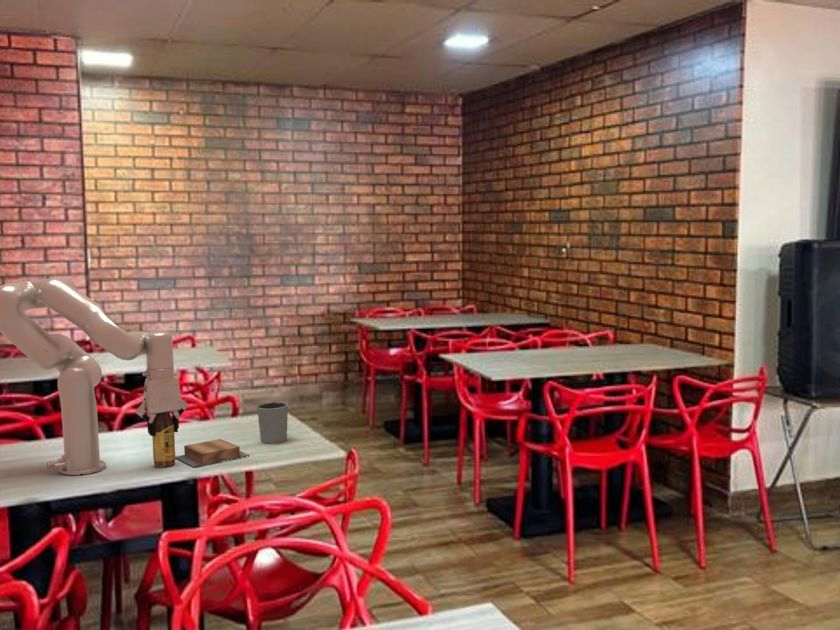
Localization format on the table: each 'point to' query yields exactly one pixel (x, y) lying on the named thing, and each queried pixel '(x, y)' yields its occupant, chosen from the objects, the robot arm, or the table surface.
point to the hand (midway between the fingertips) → (163, 432)
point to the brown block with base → (210, 453)
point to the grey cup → (273, 422)
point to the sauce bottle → (163, 440)
